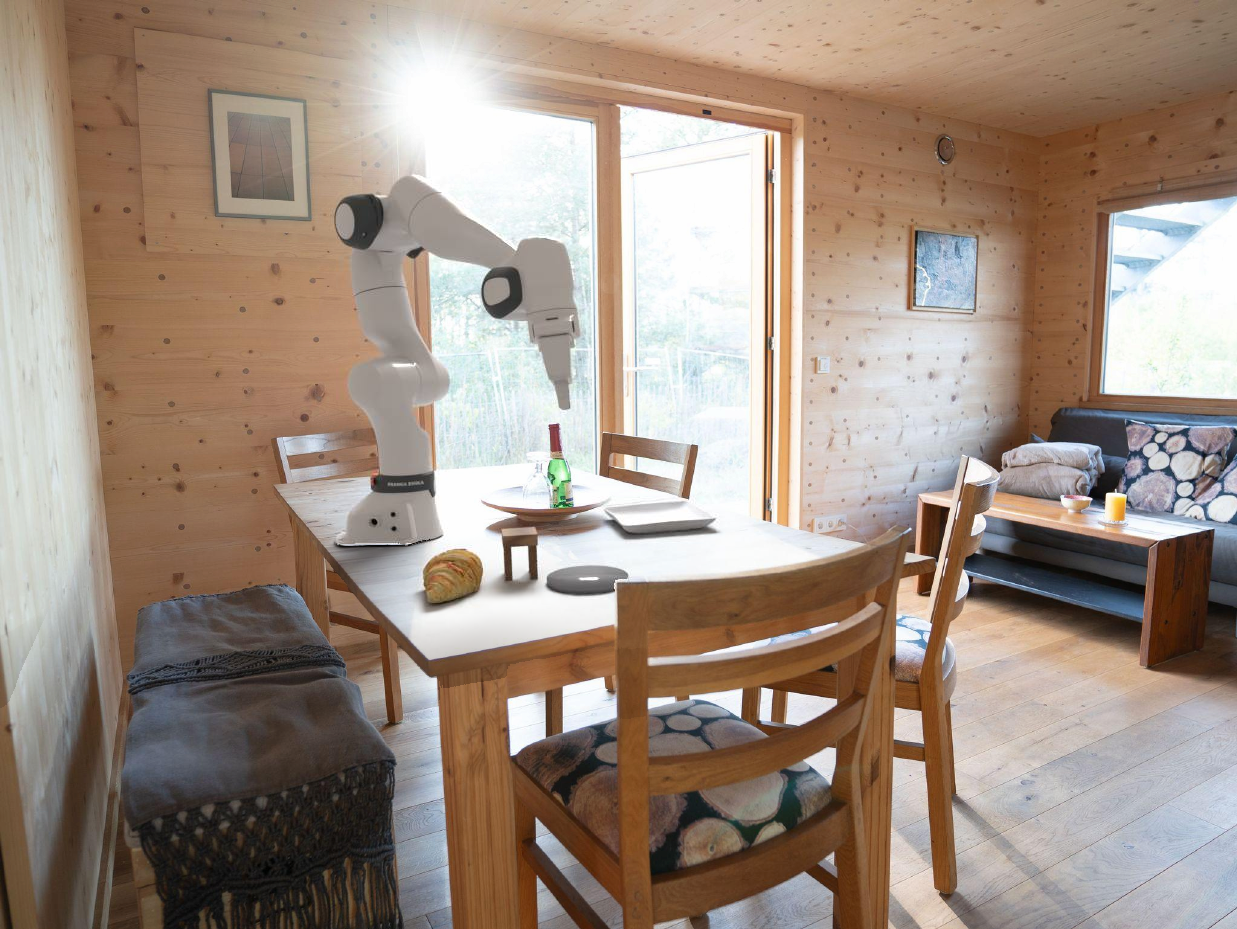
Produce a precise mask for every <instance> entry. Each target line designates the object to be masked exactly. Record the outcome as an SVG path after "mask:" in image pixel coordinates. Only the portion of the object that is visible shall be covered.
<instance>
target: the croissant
mask: <svg viewBox="0 0 1237 929" xmlns="http://www.w3.org/2000/svg"><path fill="white" fill-rule="evenodd" d="M483 574H484V568H483V562H482V560H481V558H480V557H479V556H478V555H477V554H476V553H474V552H473V551H469V550H467V549H466V548H454V549H447V550H446V551H443V552H440V553H439V554H437V555H434V557H432V558H431V559H430V560H429V561H427V563H426V565H425V567H424V568H423V570H422V575H423V576H422V580H423V586H424V589H425V594H426V598H427V602H428V603H430V604H439V603H445V602H444V601H446V602H450V601H453V600H456V599H458V598H459V599H460V598H462V596H463V597H465V596H467V594H468V595H471V594H473V593H475V592H477V591H478V590H479V589H480V585H481V583H482V581H483Z"/></svg>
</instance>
